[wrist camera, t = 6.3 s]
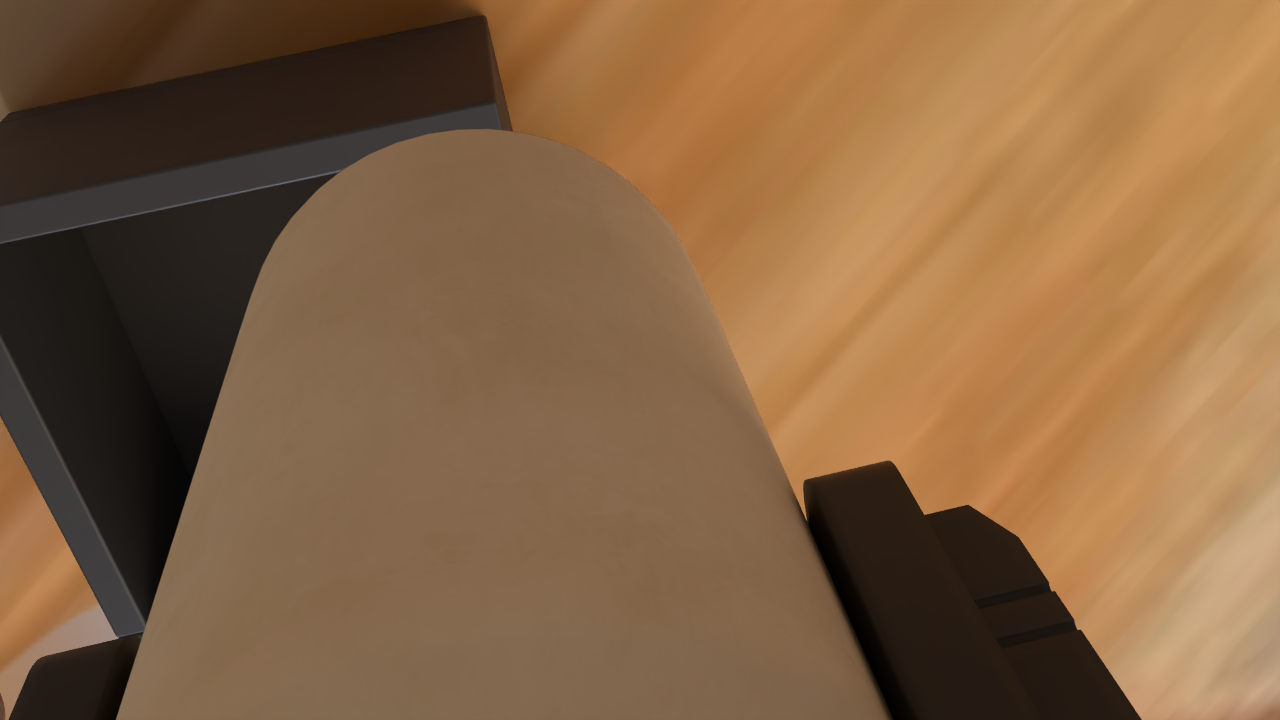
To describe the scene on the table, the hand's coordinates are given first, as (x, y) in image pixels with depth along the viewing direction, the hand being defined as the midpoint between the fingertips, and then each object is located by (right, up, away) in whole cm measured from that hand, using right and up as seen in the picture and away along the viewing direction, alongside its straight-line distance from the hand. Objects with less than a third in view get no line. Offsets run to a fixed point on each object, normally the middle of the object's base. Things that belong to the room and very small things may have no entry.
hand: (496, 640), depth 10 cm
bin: (-7, +5, +22) cm, 23 cm away
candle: (-1, +3, +5) cm, 6 cm away
